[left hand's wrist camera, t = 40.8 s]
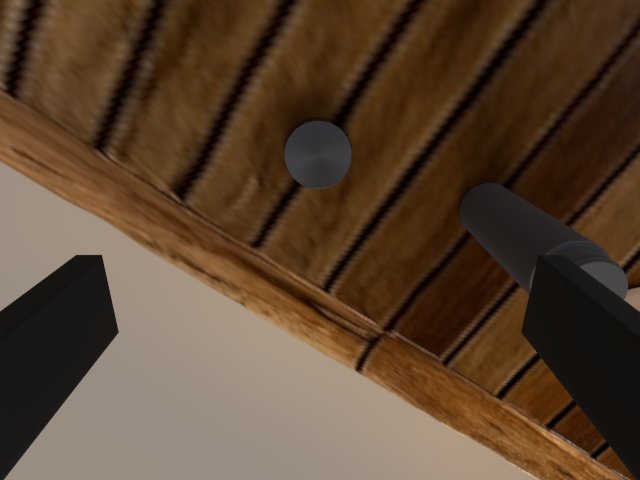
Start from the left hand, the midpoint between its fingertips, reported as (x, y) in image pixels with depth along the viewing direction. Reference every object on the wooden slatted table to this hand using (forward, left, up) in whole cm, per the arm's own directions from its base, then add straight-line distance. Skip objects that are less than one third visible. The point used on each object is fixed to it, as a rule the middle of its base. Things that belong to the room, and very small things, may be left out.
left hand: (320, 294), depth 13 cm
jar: (-3, +17, -28) cm, 33 cm away
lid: (0, 0, -26) cm, 26 cm away
